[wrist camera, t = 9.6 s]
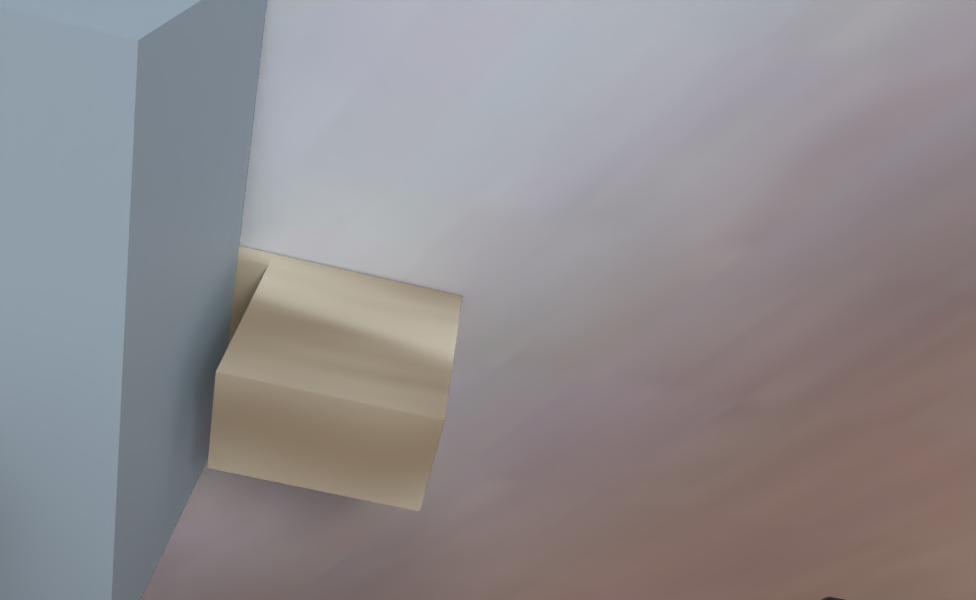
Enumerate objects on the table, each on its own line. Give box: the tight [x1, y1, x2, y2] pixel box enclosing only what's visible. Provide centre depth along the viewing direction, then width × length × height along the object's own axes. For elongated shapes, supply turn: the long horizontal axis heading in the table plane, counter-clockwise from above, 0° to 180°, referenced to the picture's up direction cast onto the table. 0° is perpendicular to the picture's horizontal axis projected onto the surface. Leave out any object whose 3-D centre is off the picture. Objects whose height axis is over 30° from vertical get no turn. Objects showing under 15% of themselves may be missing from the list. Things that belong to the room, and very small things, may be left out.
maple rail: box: [207, 246, 462, 512], centre depth 20 cm, size 3×13×4 cm, turn 77°
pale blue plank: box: [0, 0, 267, 600], centre depth 18 cm, size 12×3×7 cm, turn 167°
